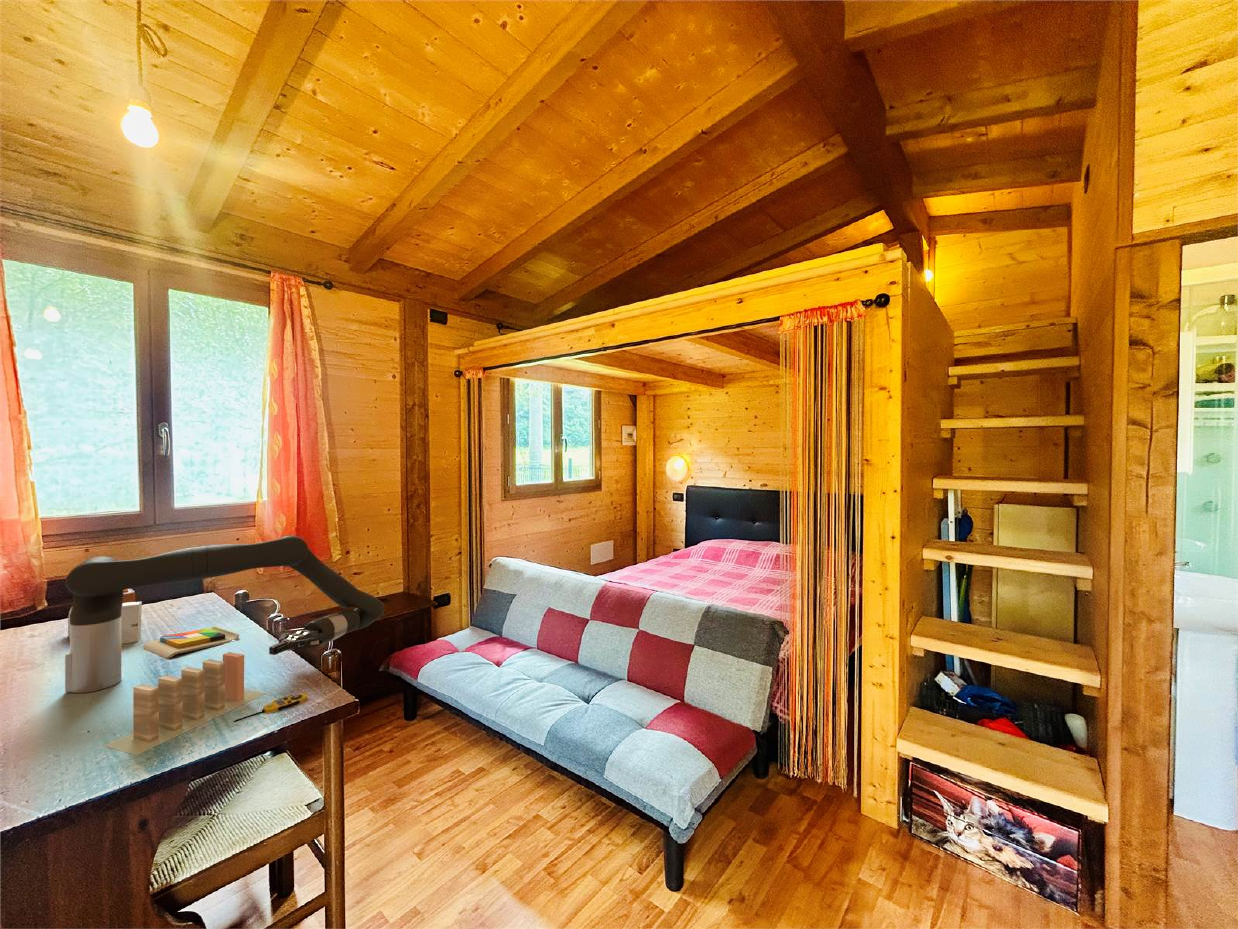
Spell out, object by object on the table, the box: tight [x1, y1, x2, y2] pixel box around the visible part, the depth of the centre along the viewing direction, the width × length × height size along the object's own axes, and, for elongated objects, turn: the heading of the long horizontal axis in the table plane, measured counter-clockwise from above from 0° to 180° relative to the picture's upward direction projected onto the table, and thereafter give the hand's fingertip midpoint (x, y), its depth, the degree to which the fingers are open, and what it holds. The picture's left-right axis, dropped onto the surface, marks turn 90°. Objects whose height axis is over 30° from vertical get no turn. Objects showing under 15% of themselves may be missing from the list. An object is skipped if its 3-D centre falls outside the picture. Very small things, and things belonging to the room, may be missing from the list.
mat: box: [103, 688, 266, 756], centre depth 114 cm, size 27×10×1 cm, turn 164°
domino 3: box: [180, 666, 205, 721], centre depth 113 cm, size 2×5×11 cm, turn 74°
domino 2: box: [157, 674, 183, 731], centre depth 109 cm, size 2×5×11 cm, turn 74°
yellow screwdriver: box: [232, 692, 309, 723], centre depth 118 cm, size 5×2×15 cm
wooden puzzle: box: [142, 625, 240, 660], centre depth 157 cm, size 18×19×4 cm
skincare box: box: [121, 601, 143, 645], centre depth 158 cm, size 6×4×12 cm
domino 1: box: [132, 683, 159, 743], centre depth 105 cm, size 2×5×11 cm, turn 74°
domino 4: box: [202, 659, 225, 711], centre depth 118 cm, size 2×5×11 cm, turn 74°
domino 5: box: [222, 651, 245, 702], centre depth 122 cm, size 2×5×11 cm, turn 74°
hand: (271, 651), depth 132 cm, fingers closed
